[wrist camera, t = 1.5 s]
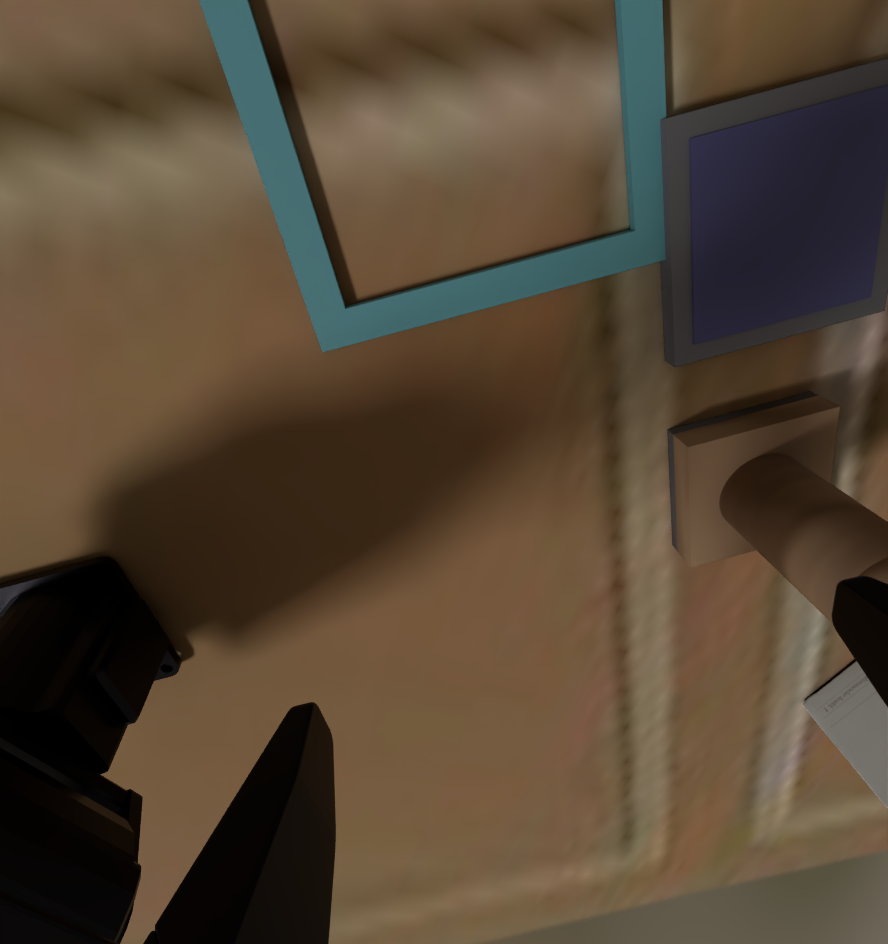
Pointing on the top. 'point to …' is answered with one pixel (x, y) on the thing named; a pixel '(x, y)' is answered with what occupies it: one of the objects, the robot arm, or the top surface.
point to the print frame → (477, 289)
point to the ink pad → (775, 213)
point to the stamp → (773, 497)
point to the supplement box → (855, 725)
